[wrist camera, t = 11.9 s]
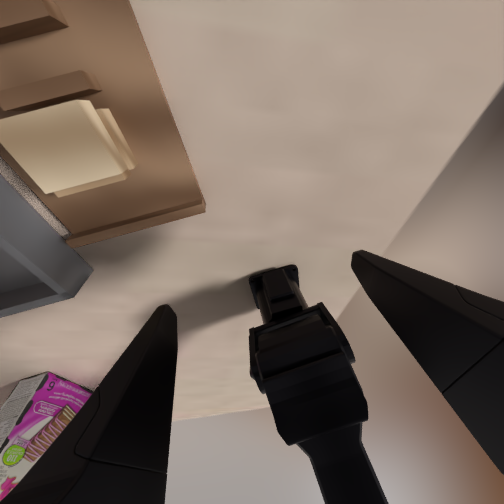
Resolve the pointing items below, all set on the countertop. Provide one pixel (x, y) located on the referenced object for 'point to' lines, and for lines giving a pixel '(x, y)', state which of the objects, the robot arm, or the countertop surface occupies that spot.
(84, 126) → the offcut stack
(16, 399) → the candy bar box
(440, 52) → the countertop surface
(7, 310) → the tray
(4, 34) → the rack
